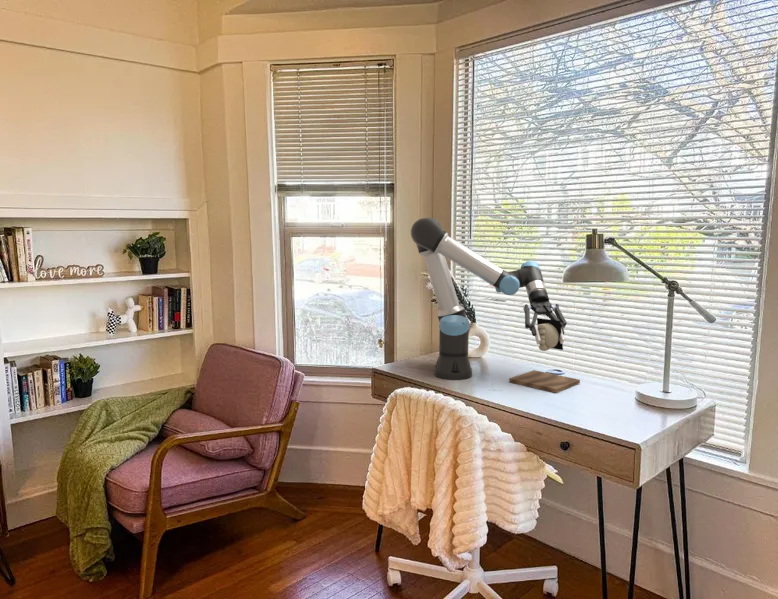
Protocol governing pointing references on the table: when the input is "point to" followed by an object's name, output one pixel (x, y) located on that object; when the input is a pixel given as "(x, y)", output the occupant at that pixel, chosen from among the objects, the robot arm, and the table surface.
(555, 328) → the decorative object
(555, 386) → the walnut board
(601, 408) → the table surface
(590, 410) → the table surface
